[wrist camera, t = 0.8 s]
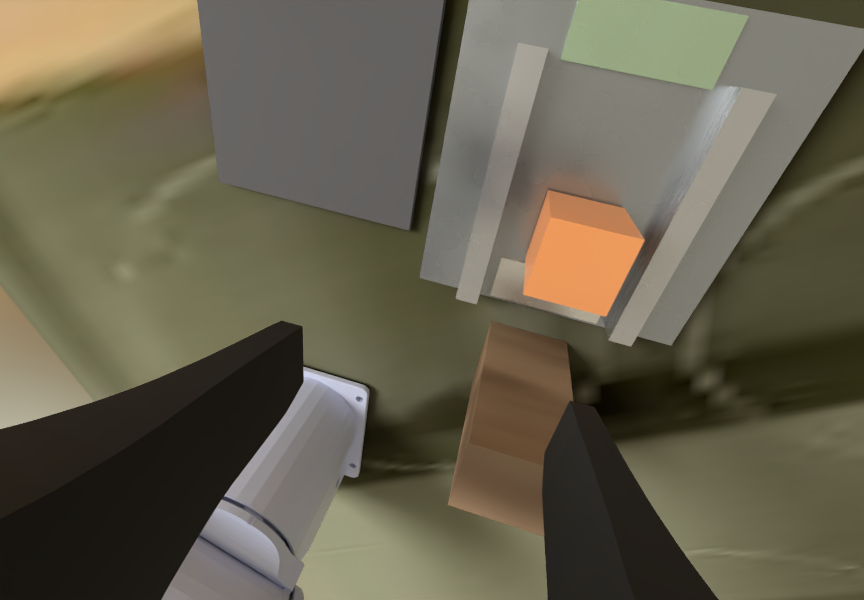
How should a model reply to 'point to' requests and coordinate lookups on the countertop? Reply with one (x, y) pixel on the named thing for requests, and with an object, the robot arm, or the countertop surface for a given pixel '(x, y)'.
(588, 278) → the orange cube
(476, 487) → the block
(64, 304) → the countertop surface
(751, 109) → the grey tray
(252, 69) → the rubber mat
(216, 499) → the robot arm
